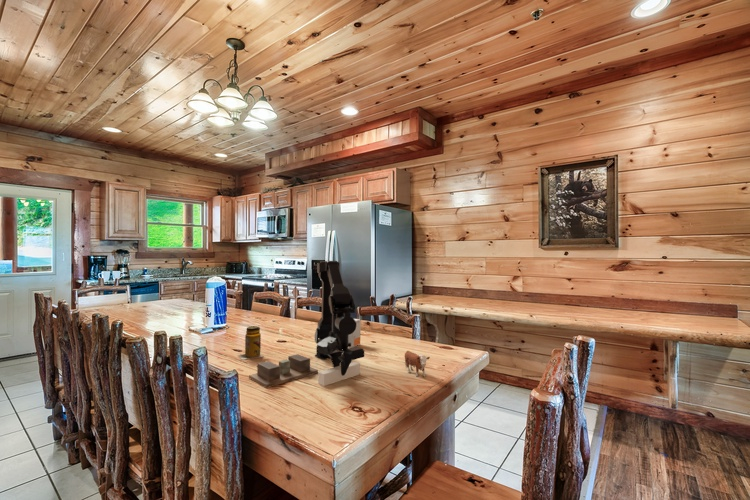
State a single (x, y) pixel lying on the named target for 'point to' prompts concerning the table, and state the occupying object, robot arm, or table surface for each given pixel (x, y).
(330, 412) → the table surface
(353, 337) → the skincare box
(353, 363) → the frame bar
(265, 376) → the display stand
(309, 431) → the table surface
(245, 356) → the condiment
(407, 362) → the bull figurine
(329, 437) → the table surface
